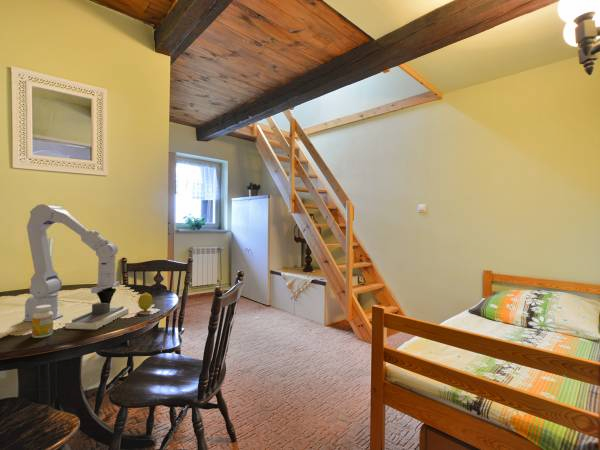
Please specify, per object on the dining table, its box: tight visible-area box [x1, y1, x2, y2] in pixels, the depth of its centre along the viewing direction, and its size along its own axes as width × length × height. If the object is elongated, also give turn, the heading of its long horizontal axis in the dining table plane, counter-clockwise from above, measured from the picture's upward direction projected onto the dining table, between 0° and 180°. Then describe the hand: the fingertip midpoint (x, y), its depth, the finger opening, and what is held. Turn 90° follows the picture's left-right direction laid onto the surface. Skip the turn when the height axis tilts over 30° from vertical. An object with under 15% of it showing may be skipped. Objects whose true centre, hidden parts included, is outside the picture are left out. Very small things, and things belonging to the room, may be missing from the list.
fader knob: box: [91, 301, 111, 315], centre depth 119 cm, size 5×3×4 cm, turn 89°
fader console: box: [65, 305, 129, 330], centre depth 119 cm, size 11×20×3 cm, turn 179°
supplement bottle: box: [31, 305, 54, 339], centre depth 102 cm, size 5×5×10 cm
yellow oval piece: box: [137, 292, 153, 312], centre depth 133 cm, size 6×6×8 cm
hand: (105, 307), depth 122 cm, fingers closed
